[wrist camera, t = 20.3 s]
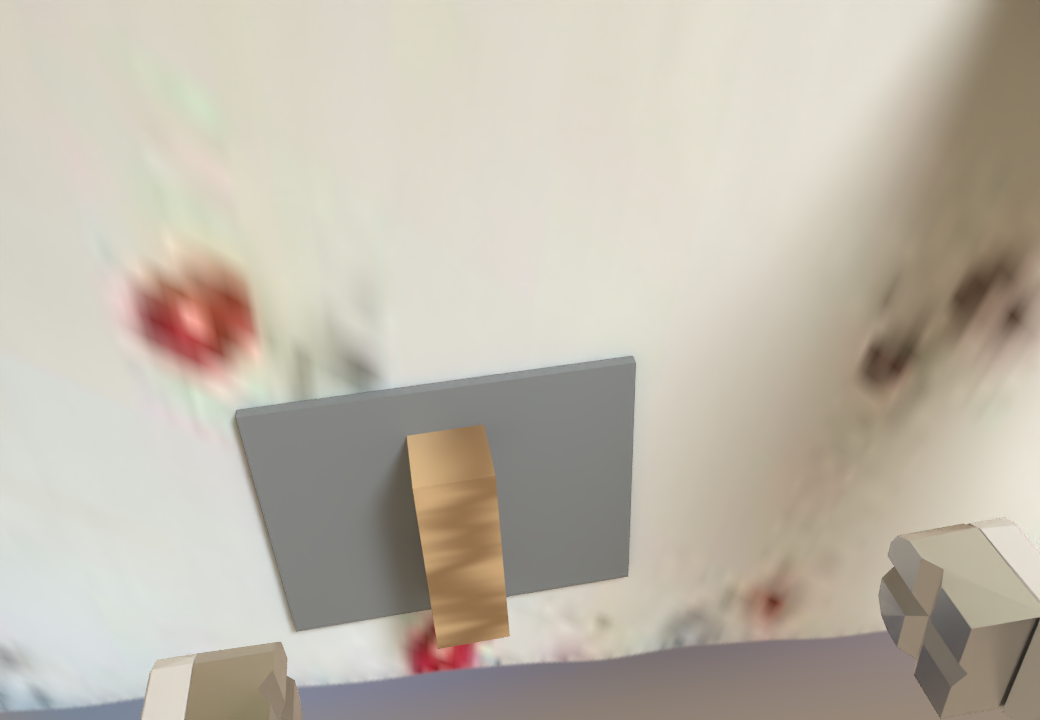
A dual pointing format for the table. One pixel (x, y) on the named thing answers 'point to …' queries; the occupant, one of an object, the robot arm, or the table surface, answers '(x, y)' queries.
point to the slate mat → (389, 494)
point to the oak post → (460, 534)
